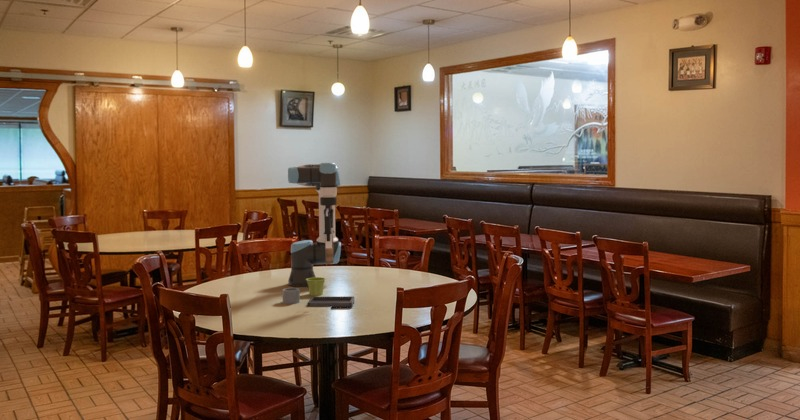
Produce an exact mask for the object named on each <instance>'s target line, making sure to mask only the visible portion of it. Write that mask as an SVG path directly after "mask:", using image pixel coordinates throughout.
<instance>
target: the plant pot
mask: <svg viewBox="0 0 800 420" xmlns="http://www.w3.org/2000/svg"><path fill="white" fill-rule="evenodd" d="M306 280H307V283H308V286H307V287H308V292H309V293H308V294H309V295H310V296H311V297H319V296H322V295H323V294H324V285H325V281H326V278H325V277H321V276H320V277H319V276H317V277H316V276H315V277H313V278H308V279H306Z"/></svg>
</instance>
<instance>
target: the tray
mask: <svg viewBox="0 0 800 420" xmlns="http://www.w3.org/2000/svg"><path fill="white" fill-rule="evenodd" d="M354 304H355V296H351V295H350V296H311V298H310V299H309V300H308V302H307V307H330V309H352V308H353V307H354Z"/></svg>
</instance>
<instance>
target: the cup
mask: <svg viewBox="0 0 800 420" xmlns="http://www.w3.org/2000/svg"><path fill="white" fill-rule="evenodd" d="M300 291H301V289H300V288H299V287H288V288H287V287H286V288H283V289H282V293H281V294H282V304H284V305H296V304H299V303H300V300H301V299H300V293H301V292H300Z"/></svg>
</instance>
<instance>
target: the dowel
mask: <svg viewBox="0 0 800 420" xmlns="http://www.w3.org/2000/svg"><path fill="white" fill-rule="evenodd" d="M331 234H332V248H326V238H325V256H326V263H328V264H327V265H330V264H329V263H334V262H333V228H331Z"/></svg>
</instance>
